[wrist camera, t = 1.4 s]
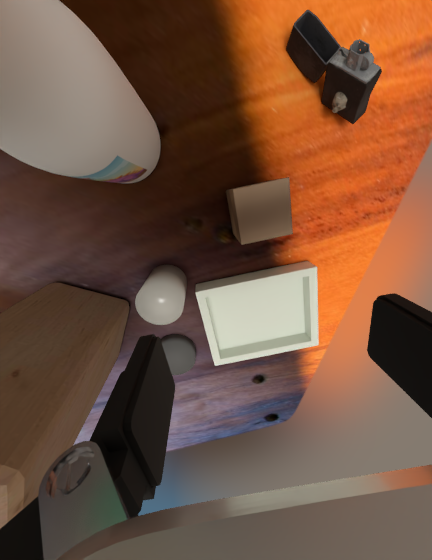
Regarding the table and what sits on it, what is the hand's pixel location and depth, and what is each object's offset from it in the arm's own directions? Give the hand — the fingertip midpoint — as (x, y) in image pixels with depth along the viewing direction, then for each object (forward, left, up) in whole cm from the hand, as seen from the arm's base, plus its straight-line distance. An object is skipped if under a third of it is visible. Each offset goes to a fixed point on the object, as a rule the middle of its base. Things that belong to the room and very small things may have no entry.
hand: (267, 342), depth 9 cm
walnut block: (-4, +4, -19) cm, 19 cm away
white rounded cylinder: (+3, -8, -19) cm, 21 cm away
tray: (+10, +3, -19) cm, 22 cm away
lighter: (-14, +12, -19) cm, 26 cm away
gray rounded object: (+14, -10, -19) cm, 26 cm away
